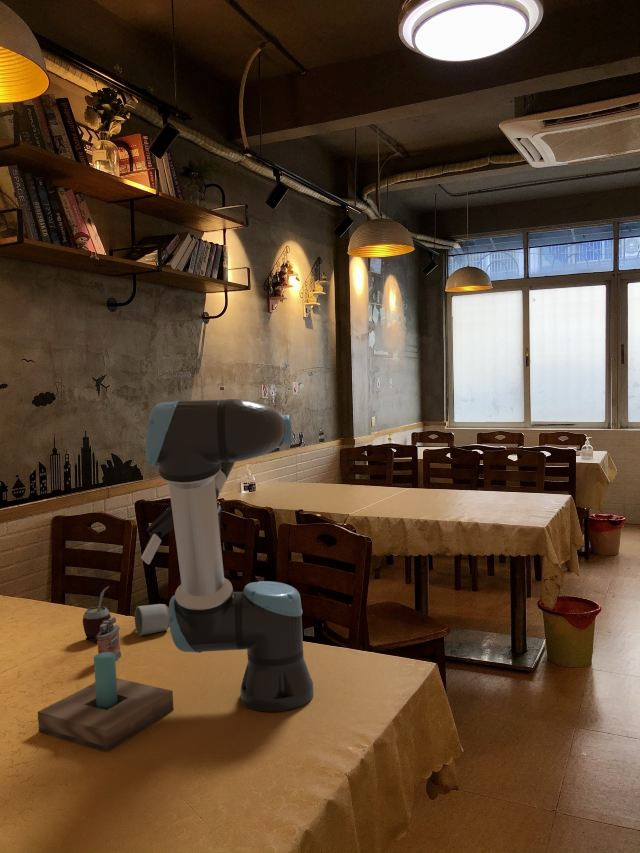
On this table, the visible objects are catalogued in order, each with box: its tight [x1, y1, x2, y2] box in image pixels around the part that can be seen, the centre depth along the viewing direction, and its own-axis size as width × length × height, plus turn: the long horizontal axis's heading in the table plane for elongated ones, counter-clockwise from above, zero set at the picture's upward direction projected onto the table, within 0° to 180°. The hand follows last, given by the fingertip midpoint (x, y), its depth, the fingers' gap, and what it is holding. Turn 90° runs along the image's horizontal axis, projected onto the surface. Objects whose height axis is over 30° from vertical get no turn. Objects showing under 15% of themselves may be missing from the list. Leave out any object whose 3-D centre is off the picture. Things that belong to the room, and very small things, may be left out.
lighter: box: [97, 616, 122, 663], centre depth 168 cm, size 8×3×10 cm, turn 168°
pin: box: [93, 652, 118, 710], centre depth 137 cm, size 4×4×12 cm
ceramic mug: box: [134, 603, 170, 637], centre depth 189 cm, size 11×8×8 cm
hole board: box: [37, 677, 175, 753], centre depth 137 cm, size 18×18×4 cm
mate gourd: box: [82, 585, 112, 644], centre depth 183 cm, size 8×8×15 cm
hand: (167, 563), depth 157 cm, fingers open, 13 cm apart
